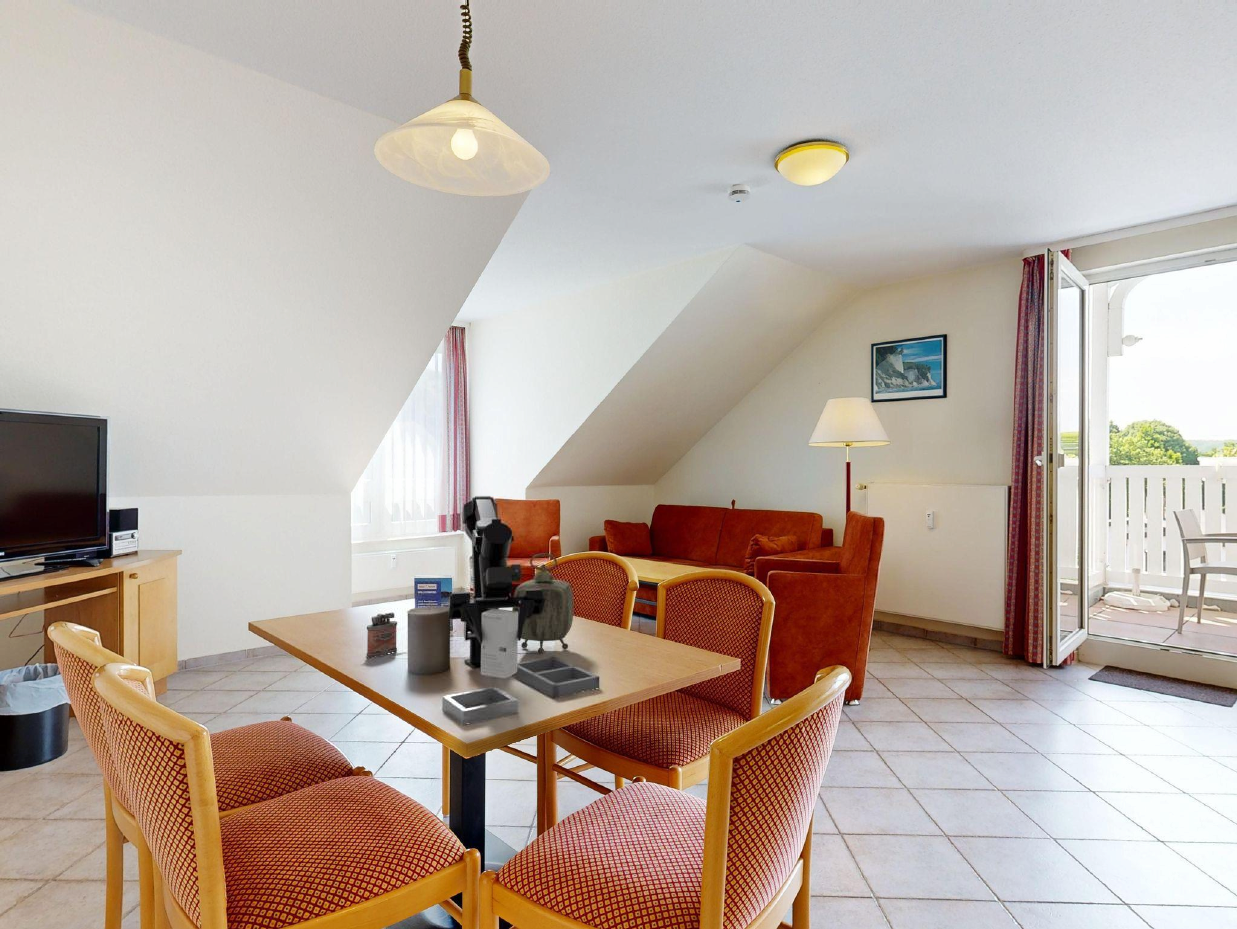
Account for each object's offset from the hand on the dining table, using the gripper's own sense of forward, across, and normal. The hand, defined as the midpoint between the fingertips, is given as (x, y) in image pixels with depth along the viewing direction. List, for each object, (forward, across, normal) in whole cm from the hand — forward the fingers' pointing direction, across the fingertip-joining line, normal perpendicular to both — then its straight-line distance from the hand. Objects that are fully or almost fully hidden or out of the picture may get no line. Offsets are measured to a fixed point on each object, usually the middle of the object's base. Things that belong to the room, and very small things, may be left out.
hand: (500, 640), depth 131 cm
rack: (-1, +14, +20) cm, 24 cm away
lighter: (-24, -23, +44) cm, 56 cm away
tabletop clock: (-18, +16, +38) cm, 45 cm away
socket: (+9, -4, +10) cm, 14 cm away
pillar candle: (-13, -12, +33) cm, 37 cm away
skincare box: (+4, 0, +6) cm, 7 cm away
